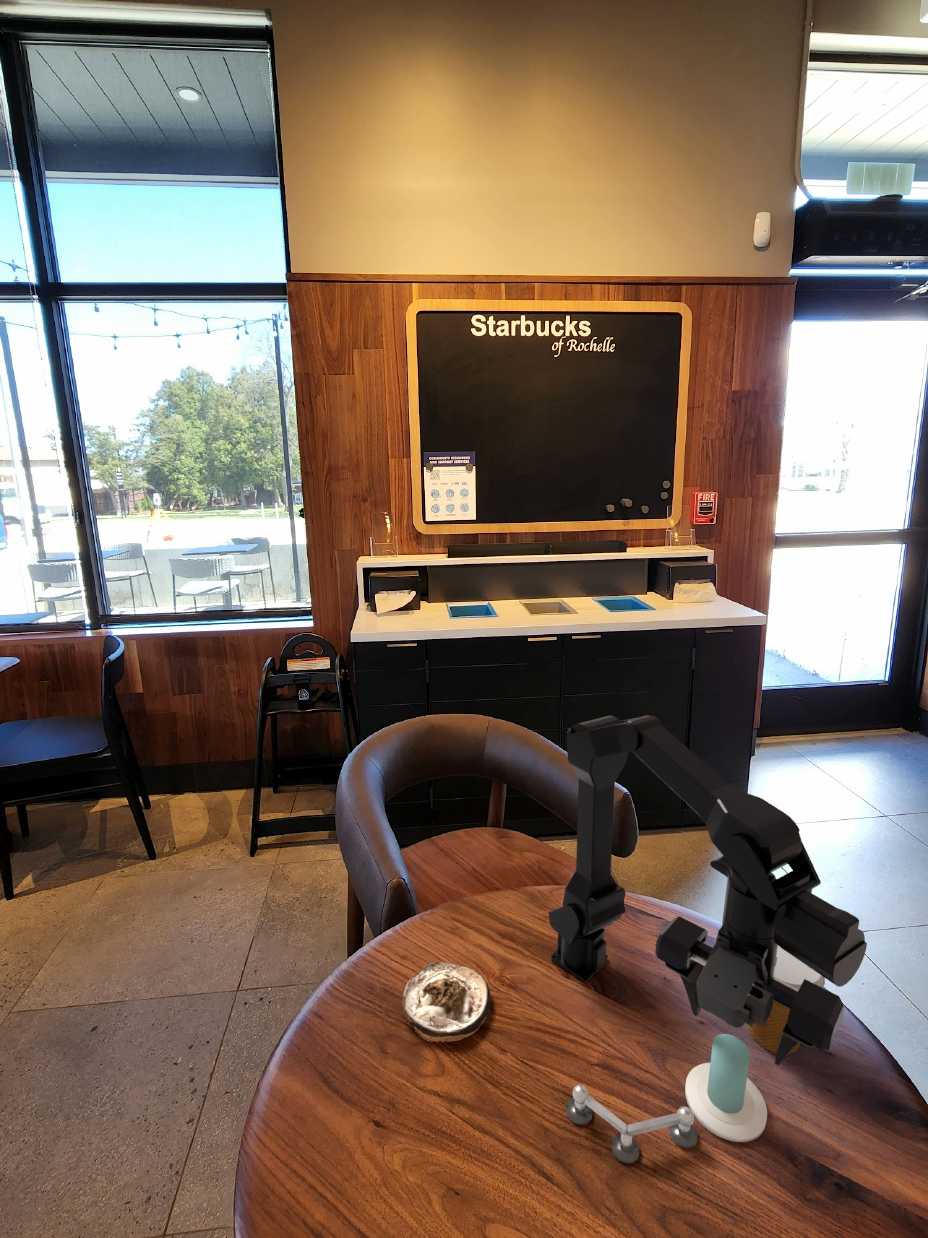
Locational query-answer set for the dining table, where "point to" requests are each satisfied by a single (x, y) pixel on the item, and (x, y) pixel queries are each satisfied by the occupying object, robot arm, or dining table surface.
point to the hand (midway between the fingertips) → (735, 1037)
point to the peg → (728, 1073)
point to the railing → (631, 1125)
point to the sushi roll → (446, 1002)
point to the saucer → (724, 1124)
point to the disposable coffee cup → (772, 1032)
